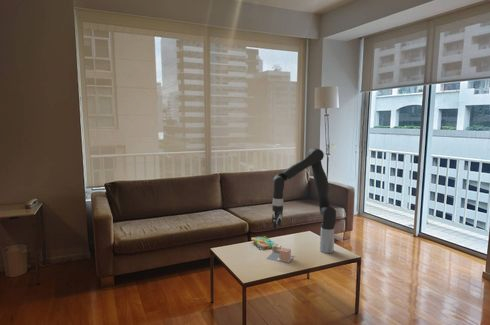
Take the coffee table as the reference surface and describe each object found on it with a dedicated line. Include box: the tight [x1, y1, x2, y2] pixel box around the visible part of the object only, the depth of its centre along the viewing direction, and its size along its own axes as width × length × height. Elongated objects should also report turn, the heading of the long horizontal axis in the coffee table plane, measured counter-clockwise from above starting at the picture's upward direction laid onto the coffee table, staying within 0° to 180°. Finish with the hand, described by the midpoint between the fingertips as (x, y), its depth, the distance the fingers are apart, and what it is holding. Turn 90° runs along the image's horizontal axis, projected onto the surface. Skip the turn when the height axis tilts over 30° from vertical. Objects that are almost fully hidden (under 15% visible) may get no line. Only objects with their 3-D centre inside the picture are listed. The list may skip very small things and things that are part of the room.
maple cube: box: [271, 243, 282, 253], centre depth 231 cm, size 5×5×5 cm
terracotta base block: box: [278, 247, 292, 261], centre depth 216 cm, size 6×6×6 cm
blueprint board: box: [265, 251, 296, 265], centre depth 218 cm, size 16×13×2 cm
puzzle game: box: [250, 235, 277, 250], centre depth 243 cm, size 12×5×20 cm
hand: (277, 226), depth 229 cm, fingers open, 8 cm apart
